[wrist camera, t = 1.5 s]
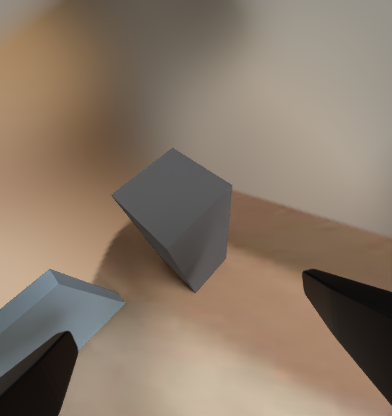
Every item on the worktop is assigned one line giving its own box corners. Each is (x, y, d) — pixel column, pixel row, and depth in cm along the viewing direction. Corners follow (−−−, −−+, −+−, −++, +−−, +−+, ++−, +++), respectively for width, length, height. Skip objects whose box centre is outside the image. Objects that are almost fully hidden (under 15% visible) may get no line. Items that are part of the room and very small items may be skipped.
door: (21, 408, 15) (-182, 488, 8) (9, 375, 16) (-176, 415, 9) (125, 303, 18) (58, 284, 11) (109, 281, 20) (38, 250, 12)
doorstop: (225, 258, 20) (232, 185, 10) (195, 293, 19) (166, 249, 9) (194, 231, 22) (172, 147, 12) (164, 261, 21) (111, 194, 10)
